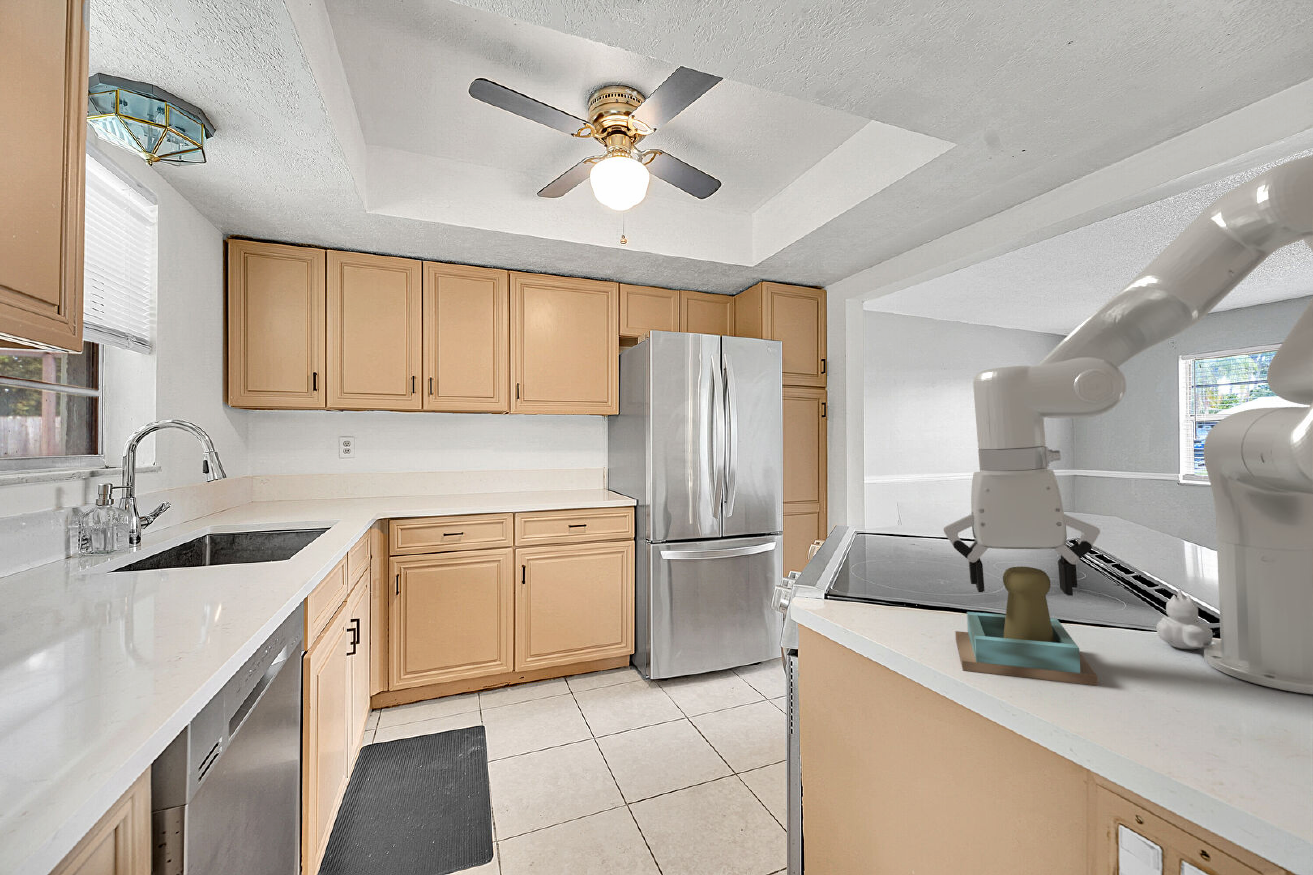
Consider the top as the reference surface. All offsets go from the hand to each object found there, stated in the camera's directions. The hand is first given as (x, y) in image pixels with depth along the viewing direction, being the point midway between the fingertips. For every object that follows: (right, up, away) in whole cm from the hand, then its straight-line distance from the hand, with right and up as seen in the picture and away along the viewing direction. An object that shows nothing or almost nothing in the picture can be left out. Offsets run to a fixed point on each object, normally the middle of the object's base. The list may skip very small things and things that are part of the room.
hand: (1022, 590), depth 73 cm
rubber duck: (+23, -8, +1) cm, 24 cm away
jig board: (0, -9, 0) cm, 9 cm away
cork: (+1, -8, 0) cm, 8 cm away
